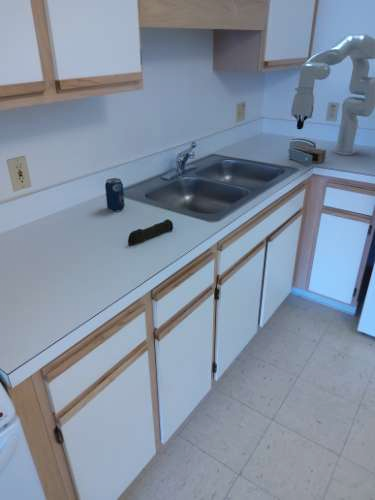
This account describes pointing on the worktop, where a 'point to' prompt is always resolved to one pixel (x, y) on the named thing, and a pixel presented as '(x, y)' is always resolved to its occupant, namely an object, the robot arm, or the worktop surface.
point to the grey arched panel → (302, 143)
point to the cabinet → (313, 153)
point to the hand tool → (149, 232)
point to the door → (300, 156)
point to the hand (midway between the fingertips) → (299, 128)
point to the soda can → (114, 194)
